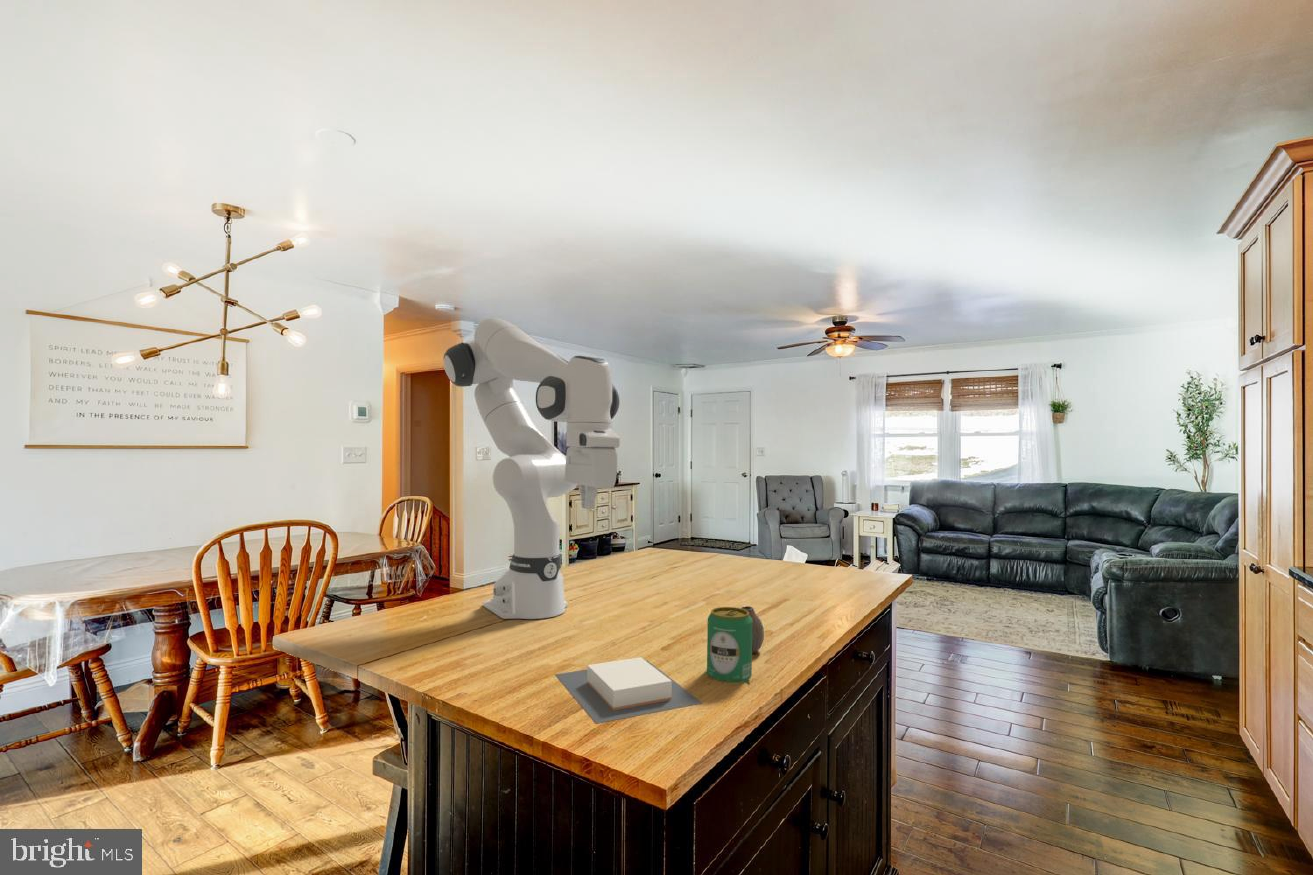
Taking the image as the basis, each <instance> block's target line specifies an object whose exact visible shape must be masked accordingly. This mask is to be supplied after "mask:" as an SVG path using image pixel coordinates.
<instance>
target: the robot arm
mask: <svg viewBox="0 0 1313 875" xmlns="http://www.w3.org/2000/svg"><path fill="white" fill-rule="evenodd" d="M473 336H474V337H473V338H474V339H473V340H469V341H465V342H464V341H462V342H459V343H457V344H455V345H453V346H450V347H449V348H448V349H447V350H446V352H445V353H444V355H443V367H444V371H445V373H446V375H447V377H448V379H449V381H450V382H451V383H452V384H453V385H455V386H456V387H460V388H461V387H471V386H472V385H475V386H476V387H475V388H474V392H473V393H474V398H475V402H476V406H477V409H478V412H479V414H480V417H481V419H482V421H483V423H484V425H485V427H486V429H487V431H488V432H489V434H490V436H491V438H492V440H493V442H494V444H495V446H496V448H497V449H498V450H499V451H500V452H501V453H502V454H504V455H507V456H508V457H506V458H505V457H504V458H503V459H501V460H500V461H498V462H497V464H496V466H495V467H494V470H493V473H492V483H493V486H494V488H495V491H496V492H497V494H498V495H499V496H500V497H502V499H503V500H504V501H505V502H506V504H507V506H508V508H509V511H510V514H511V517H512V521H513V544H514V545H513V554H512V555H508V558H509V559H508V561H510V562H509V563H510V564H509V567H508V568H509V569H508V570H507V571H506V572H505V573H504V574H503V575H502V576H501V577H500V578H498V579H497V580H496V581H495V582H494V584H493V589H492V590H493V592H492V598H490V599H487V600H485V601H483V604H482V606H483V607H484V608H486V609H487V610H489V611H490V612H492V613H493V614H495V615H496V616H498V617H499V618H501V619H502V620H503V619H504V620H506V619H507V620H509V619H510V620H511V619H512V620H513V619H520V620H521V619H523V620H536V619H537V620H538V619H547V618H552V617H556V616H560V615H562V614H563V613H564V612H565V611H566V609H565V608H566V607H568V601H567V600H565V588H564V587H565V586H564V576H563V574H562V573H561V571H560V570H561V568H562V554H561V553H560V534H561V533H560V532H561V530H560V529H561V527H560V526H561V525H560V523H559V520H558V519H557V518H556V517H555V516H553V515H552V513H551V511H550V509H549V505H548V504H549V503H548V499H547V498H558V497H560V496H563V495H564V496H565V495H566V494H569V493H571V492H572V491H574V490H575V489H576V487H577V486H578V492H579V497H580V500H581V501H580V507H581V508H582V509H585V510H594V509H595V504H596V499H597V494H598V489H612V488H614V486H615V484H616V481H617V472H618V450H617V448H620V444H621V443H620V442H621V439H620V436H619V435H618V434H616V433H615V431H614V430H613V429H612V428H613V424H612V423H613V419H614V418H615V416H616V414H618V411H619V407H620V395H619V393H618V390H617V388H616V387H615V385H614V384H613V379H612V378H613V377H612V372H611V371H612V370H611V366H610V364H609V362H608V361H607V360H606V359H603V358H600V357H591V356H584V355H575V356H571V358H570V359H569V361H568V360H566V359H564V358H563V357H561V356H559V355H557V354H556V353H554V352H553V351H551V350H550V349H548V348H547V347H545V346H544V345H542V344H541V343H539V342H538V341H536V340H535V339H534V338H533V337H531V336H530V335H529V334H527V333H526V332H525V331H523V330H522V329H521V328H519V327H518V326H516V325H515V324H514V323H512V322H509V321H507V320H505V319H502V318H500V317H489V318H486V319H483V320H482V321H481V322H479V323H478V325H477V326H476V328H475V330H474V335H473ZM513 380H514V381H521V382H529V383H538V386H537V388H536V390H535V391H536V392H535V405H536V406H535V407H536V408H537V411H538V413H539V414H540V415H541V417H542V418H544V419H545V420H546V421H547V420H548V421H550V422H558V423H566V432H565V433H566V439H565V440H566V442H565V445H566V447H567V449H566V454H564V453H562V452H561V451H560V450H559V449H557V446H554V445H553V443H551V441H549V439H548V438H547V437H546V436H545V435H544V434H543V433H542V432H541V430H539V428H538V426H537V425H536V423H535V421H534V420H533V418H532V417H531V415H530V413H529V412H528V410H527V408H526V406H525V404H524V402H523V401H522V398H520V396H519V395H518V393H517V391H516V389H515V388H514V382H513ZM476 384H477V385H476Z"/></svg>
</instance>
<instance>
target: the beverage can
mask: <svg viewBox="0 0 1313 875" xmlns="http://www.w3.org/2000/svg"><path fill="white" fill-rule="evenodd" d="M706 631H707V635H706V636H707V637H706V638H707V639H706V642H707V644H706V646H707V648H706V650H707V651H706V674H707V676H708V677H710V678H712V679H714V680H717V681H720V682H721V681H722V682H727V683H728V682H730V683H735V682H736V683H739V682H743V683H745V684H746V683H747V682H748V681H750V679H751V677H752V675H753V672H752V669H753V667H752V666H753V664H752V663H753V661H752V660H753V653H752V619H751V617H750V615H749V612H748V611H747V610H744V609H741V607H735V606H721V607H719V606H718V607H716V608H715V607H714V608H713V609H711V610H710V613H709V615H708V617H707V630H706ZM748 683H749V682H748ZM748 683H747V684H748Z"/></svg>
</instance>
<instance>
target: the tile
mask: <svg viewBox="0 0 1313 875" xmlns="http://www.w3.org/2000/svg"><path fill="white" fill-rule="evenodd" d="M647 661H648V660H645V659H644V658H643V657H641V656H640V657H633V658H626V659H620V660H619V659H618V660H613V661H612V660H611V661H607V662H600V663H599V662H598V663H592V664H587V669H588V672H587V683H588V684H589V685H590V686H591V687H592V688H593V689H594V690H595V691H596V692H597V694H598V695H599V696H600V697H601V698H602V699H603V700H604V701H605V702H606V703H607V704H608V705H609V706H610V707H611V708H612V709H613V710H619V709H624V708H629V707H635V706H640V705H646V704H651V703H656V702H662V701H667V700H671V698H672V681H671V680H670V679H669V678H667V677H666V676H665V675H663V674H662V673H661V672H660V671H661V670H660V671H658V670H657V669H656V668H654V667H653V666H652V665H650V664H649V663H648V662H647Z"/></svg>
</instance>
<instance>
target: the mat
mask: <svg viewBox="0 0 1313 875" xmlns="http://www.w3.org/2000/svg"><path fill="white" fill-rule="evenodd" d="M646 661H647V662H648V663H649V664H650V665H652V666H653V667H654V668H656V669H657V670H658V671H660V672H661V673H662V674H663V675H665V676H666V677H667V678H669V679H670V680H671V681H672V698H671V700H667V701H662V702H656V703H651V704H646V705H640V706H635V707H629V708H624V709H619V710H613V709H612V708H611V707H610V706H609V705H608V704H607V703H606V702H605V701H604V700H603V699H602V698H601V697H600V696H599V695H598V694H597V692H596V691H595V690H594V689H593V688H592V687H591V686H590V685H589V684H588V683H587V672H588V668H587V669H582V670H575V671H570V672H569V671H567V672H563V673H556V674H554V676H555V677H556V678H557V679H558V680H559V682H560V683H561V684H562V686H563V687H564V688H565V689H566V690H567V692H569V693H570V695H571V696H572V697H573V698H574V700H575V701H576V702H577V703H578V704H579V706H580V707H581V708H582V709H583V710H584V711H585V713H586V714H587V715H588V716H589V718H590V719H591V720H592V721H593V723H594V724H596V725H597V724H603V723H608V722H614V721H619V720H623V719H629V718H635V717H639V716H640V717H641V716H644V715H650V714H655V713H659V712H665V711H670V710H675V709H680V708H685V707H691V706H696V705H701V704H703V701H701V700H700V699H699V698H697V697H696V696H695V695H693V694H692V693H690V692H689V691H688V690H687V689H685V688H684V687H683V686H681V685H680V684H679V683H677V682H676V681H675V680H673V679H672V678H671V677H669V676H668V675H667V674H666V673H664V672H663V671H661V670H660V668H658V667H656V666H655V665H654V664H653V663H652V662H650V661H649V660H646Z"/></svg>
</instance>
